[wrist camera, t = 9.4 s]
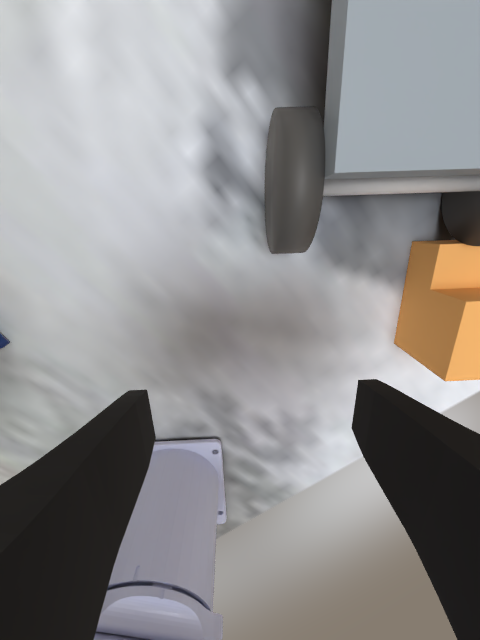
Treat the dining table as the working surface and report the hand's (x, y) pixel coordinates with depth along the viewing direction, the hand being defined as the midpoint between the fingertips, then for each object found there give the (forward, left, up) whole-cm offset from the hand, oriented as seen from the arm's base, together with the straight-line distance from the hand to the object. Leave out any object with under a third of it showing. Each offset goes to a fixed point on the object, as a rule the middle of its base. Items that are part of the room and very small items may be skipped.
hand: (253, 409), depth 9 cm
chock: (+1, -13, -10) cm, 16 cm away
